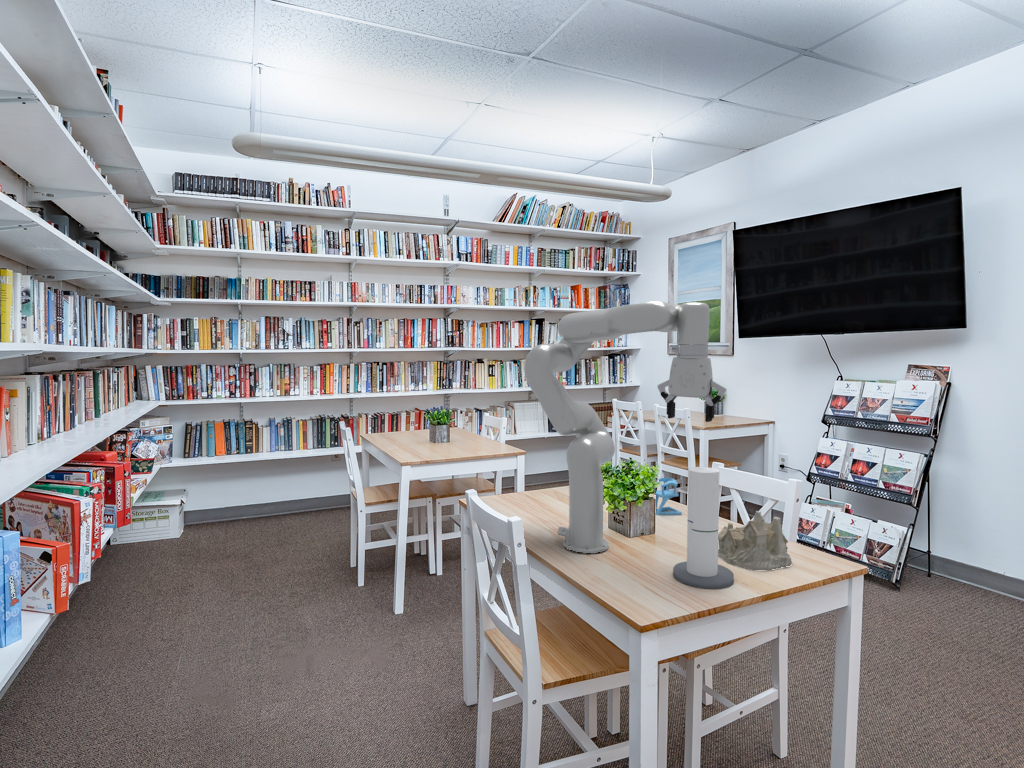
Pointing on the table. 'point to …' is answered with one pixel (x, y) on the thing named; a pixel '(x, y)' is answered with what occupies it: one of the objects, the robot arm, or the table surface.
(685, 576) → the coaster
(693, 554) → the cylindrical container
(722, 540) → the ceramic cottage
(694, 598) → the table surface
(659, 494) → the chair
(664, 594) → the table surface
